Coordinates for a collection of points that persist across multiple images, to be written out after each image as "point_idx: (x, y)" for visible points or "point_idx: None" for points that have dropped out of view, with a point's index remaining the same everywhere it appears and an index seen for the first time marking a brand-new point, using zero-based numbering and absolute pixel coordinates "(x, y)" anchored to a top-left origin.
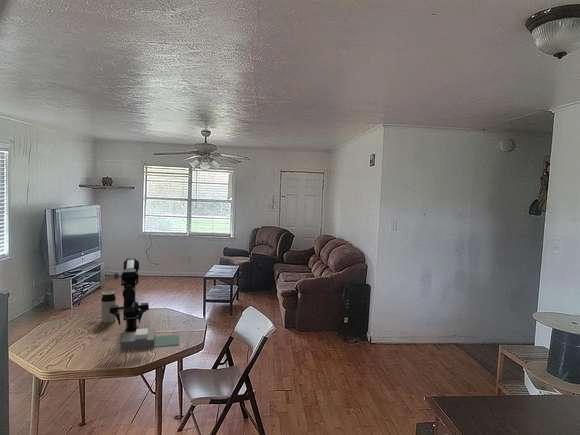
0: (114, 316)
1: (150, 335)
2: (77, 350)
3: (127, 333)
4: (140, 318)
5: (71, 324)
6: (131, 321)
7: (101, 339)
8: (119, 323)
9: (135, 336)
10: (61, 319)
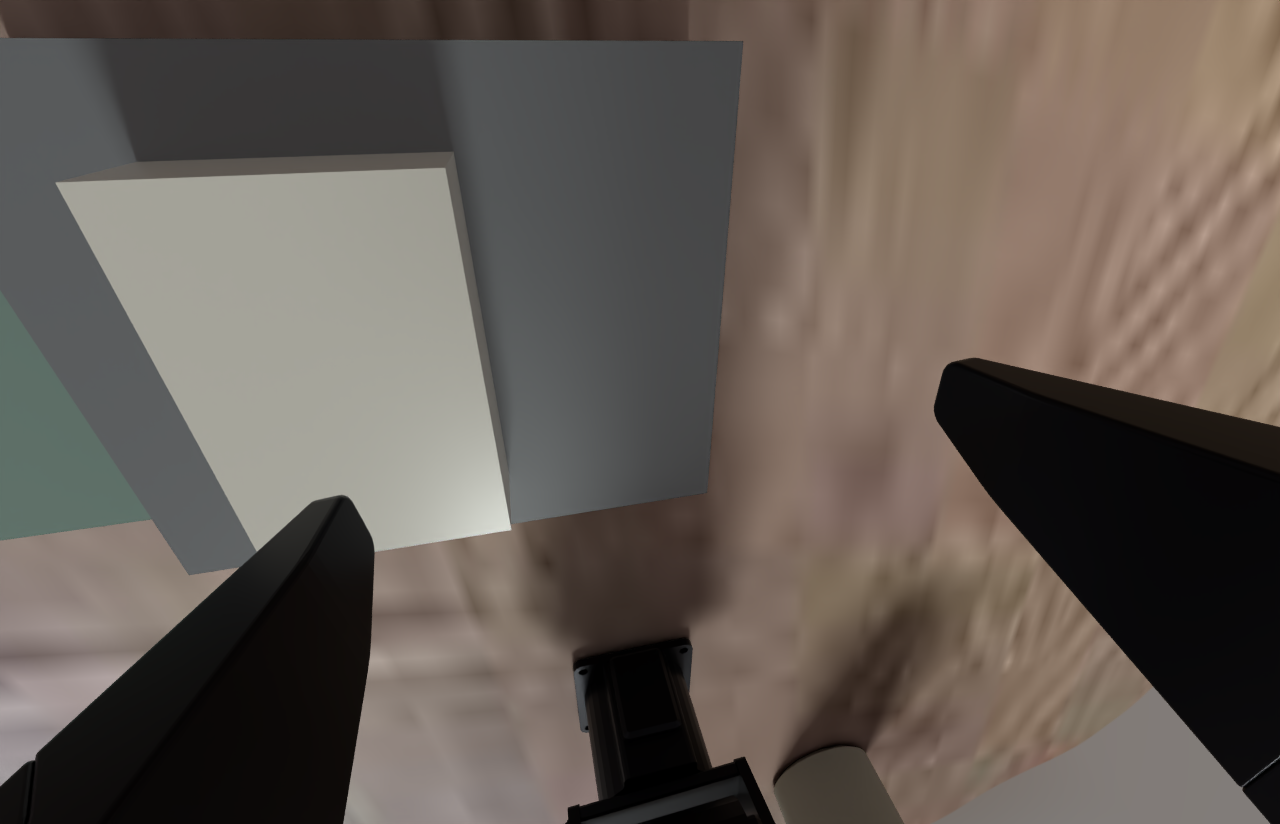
0: (799, 818)
1: None
2: (1185, 180)
3: (657, 478)
4: (136, 685)
5: (1036, 702)
6: (651, 757)
7: (904, 468)
8: (1030, 375)
9: (434, 164)
10: (1061, 747)
